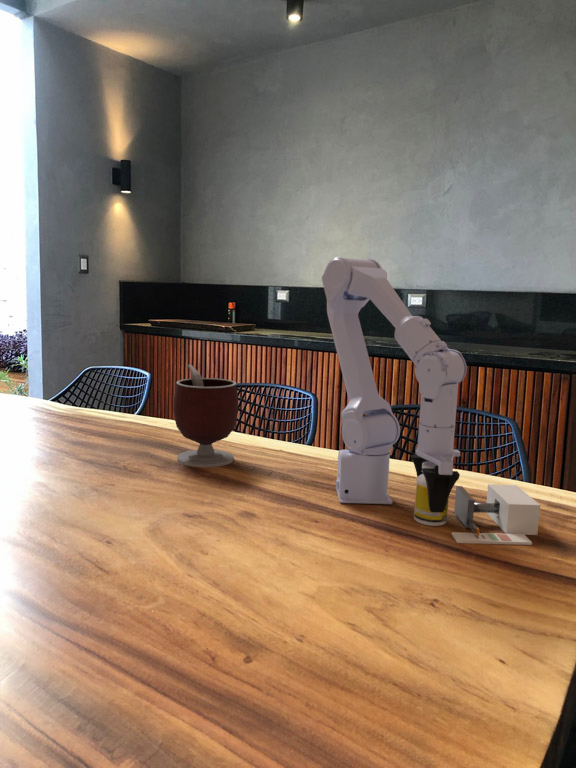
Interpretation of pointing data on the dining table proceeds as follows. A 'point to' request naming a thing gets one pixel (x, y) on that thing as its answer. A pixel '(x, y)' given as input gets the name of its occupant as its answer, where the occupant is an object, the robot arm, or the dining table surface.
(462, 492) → the plunger
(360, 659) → the dining table surface
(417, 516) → the supplement bottle
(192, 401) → the mate gourd
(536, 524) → the gauge
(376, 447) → the robot arm
